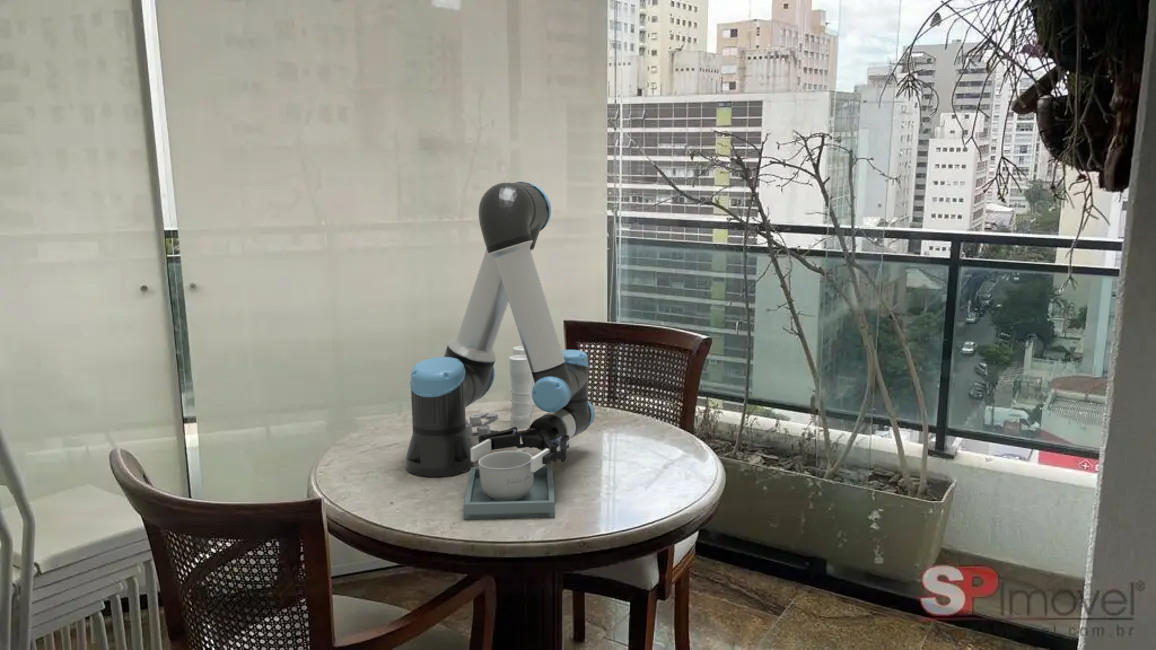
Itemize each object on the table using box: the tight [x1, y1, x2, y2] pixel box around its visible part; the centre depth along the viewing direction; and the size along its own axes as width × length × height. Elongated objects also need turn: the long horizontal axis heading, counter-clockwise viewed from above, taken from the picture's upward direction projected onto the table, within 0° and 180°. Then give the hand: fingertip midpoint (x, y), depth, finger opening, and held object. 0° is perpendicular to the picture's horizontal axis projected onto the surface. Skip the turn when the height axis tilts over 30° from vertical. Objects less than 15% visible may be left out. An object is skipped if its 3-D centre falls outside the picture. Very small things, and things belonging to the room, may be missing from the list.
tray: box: [463, 465, 556, 521], centre depth 167 cm, size 17×20×3 cm
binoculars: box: [508, 345, 534, 429], centre depth 220 cm, size 17×5×18 cm, turn 0°
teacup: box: [477, 448, 534, 502], centre depth 167 cm, size 14×11×8 cm
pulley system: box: [466, 412, 500, 438], centre depth 211 cm, size 27×5×15 cm
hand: (501, 460), depth 163 cm, fingers open, 13 cm apart
